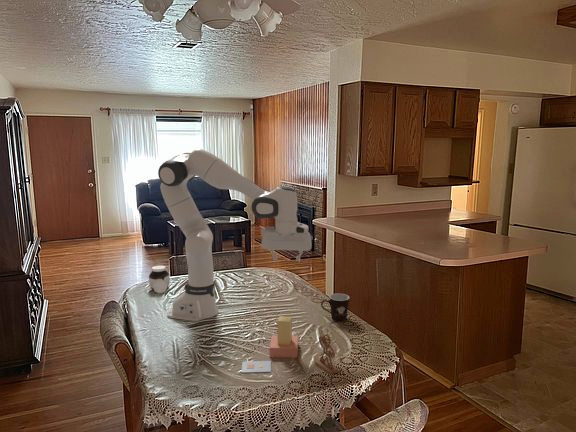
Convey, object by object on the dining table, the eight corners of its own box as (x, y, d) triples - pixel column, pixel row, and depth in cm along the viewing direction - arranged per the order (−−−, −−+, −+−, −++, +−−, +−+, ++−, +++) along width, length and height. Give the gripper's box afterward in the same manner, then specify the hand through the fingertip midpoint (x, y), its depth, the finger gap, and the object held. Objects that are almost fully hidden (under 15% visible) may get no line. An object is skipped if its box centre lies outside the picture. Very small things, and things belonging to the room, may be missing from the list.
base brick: (269, 358, 157) (269, 347, 156) (271, 345, 166) (271, 335, 166) (297, 358, 156) (297, 348, 155) (297, 345, 166) (297, 335, 165)
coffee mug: (350, 316, 192) (351, 294, 190) (346, 323, 184) (347, 301, 182) (325, 312, 196) (325, 291, 194) (320, 320, 188) (320, 298, 186)
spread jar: (162, 284, 234) (161, 263, 232) (176, 288, 228) (175, 267, 226) (144, 290, 225) (142, 269, 223) (157, 295, 218) (156, 273, 216)
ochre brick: (277, 344, 158) (277, 320, 157) (280, 338, 163) (280, 316, 161) (289, 345, 158) (289, 321, 156) (291, 339, 162) (291, 317, 160)
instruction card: (241, 372, 146) (241, 371, 146) (242, 362, 153) (242, 361, 153) (270, 372, 146) (270, 371, 146) (270, 361, 153) (270, 360, 153)
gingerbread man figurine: (339, 371, 146) (339, 338, 144) (330, 374, 144) (330, 341, 142) (323, 360, 154) (323, 328, 152) (314, 363, 152) (314, 331, 150)
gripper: (259, 227, 171) (259, 261, 174) (310, 229, 169) (310, 263, 171) (262, 224, 178) (262, 257, 180) (312, 226, 175) (311, 259, 177)
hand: (286, 260), depth 176 cm, fingers open, 8 cm apart
